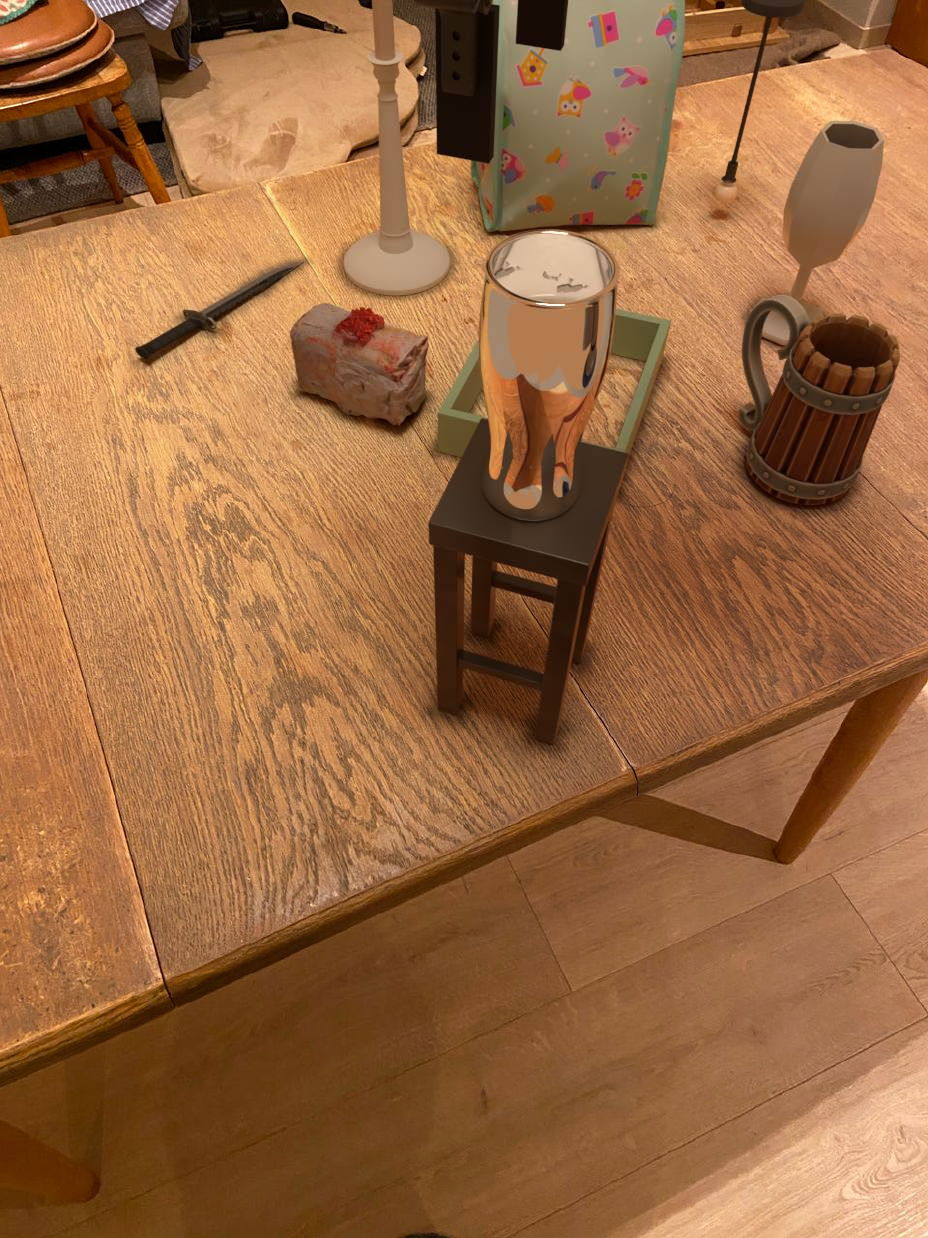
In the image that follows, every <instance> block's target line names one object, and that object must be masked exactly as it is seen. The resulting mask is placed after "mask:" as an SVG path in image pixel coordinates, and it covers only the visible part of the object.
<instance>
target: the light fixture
mask: <svg viewBox="0 0 928 1238" xmlns="http://www.w3.org/2000/svg"><path fill="white" fill-rule="evenodd" d="M807 1H808V0H740V4H741V7H742V8H744V10H746V11H748V12H750V13H752V14H753V15H757V16H761V17H765V21H764V25H763V27H764V29H763V32H762V35H761V36H762V37H761V40H760V43H759V48H758V53H757V56H756V60H755V64H754V69H753V71H752V77H751V81H750V85H749V88H748V93H747V97H746V101H745V105H744V110H743V113H742V116H741V117H742V118H741V122H740V126H739V129H738V132H737V133H738V134H737V137H736V141H735V145H734V150H733V153H732V155H731V160H729V161H727V166H726V169H725V172H724V173H725V174H724V175H723V176H722V177H721V181H722V182H720V183H719V184H718V185H717V186H716V188H715V191H714V197H715V199H716V201H717V202H718V203H720V204H723V205H728V204H730V203H732V202H733V201H734V200H735V199H736V198H737V195H738V188H737V185H736V184H735V183H736V182H737V178H736V175H737V171H738V169H739V168H738V167H739V162H738V156H739V151H740V147H741V144H742V143H741V142H742V139H743V135H744V131H745V127H746V123H747V118H748V115H749V112H750V106H751V102H752V99H753V95H754V91H755V87H756V83H757V79H758V75H759V71H760V67H761V64H762V59H763V55H764V51H765V47H766V43H767V40H768V39H767V38H768V35H769V31H770V28H771V26H772V23H773V18H774V19H785V18H792V17H796V16H798V15H801V14H802V13H803V12H804V10H805V8H806V4H807Z"/></svg>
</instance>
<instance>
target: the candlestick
mask: <svg viewBox="0 0 928 1238" xmlns="http://www.w3.org/2000/svg"><path fill="white" fill-rule="evenodd" d="M371 7H372V9H371V10H372V23H373V24H372V25H373V26H372V27H373V39H374V51H371V52H369V54H367V60H368V61H369V63H371V64H372V65H373V66H372V67H373V71H372V74H373V77H374V78H375V79H376V80H377V85H378V87H379V91H378V93H377V96H376V98H377V104H378V105H377V107H378V108H377V111H378V112H377V113H378V159H379V161H378V163H379V164H378V165H379V169H378V170H379V221H380V223H379V230H377V231H374V232H371V233H369V234H366V235H364V236H362V237H361V238H359V239H357V240H356V241H355V242H354V243H353V244H351V246H349V248H348V249H347V250H346V252H345V253H344V257H343V269H344V274H345V275H346V277H347V279H349V281H350V282H351V283H353V284H354V285H355V286H356V287H358V288H360V289H362V290H364V291H366V292H370V293H373V294H376V295H377V294H378V295H383V296H407V295H414V294H418V293H420V292H424V291H428V290H429V289H432V288H433V287H435V286H437V285H438V284H440V283H441V282H442V281H443V280H444V279H445V278H446V277H447V276H448V274H449V272H450V269H451V257H450V254H449V251H448V249H447V248H446V247H445V245H443V243H442V242H440V241H439V240H438V239H436V238H435V237H433V236H431V235H429V234H427V233H425V232H421V231H419V230H414V229H411V225H410V215H409V207H408V196H407V186H406V185H407V184H406V175H405V174H406V173H405V164H404V163H405V162H404V154H403V145H402V134H401V133H402V132H401V123H400V114H399V113H400V112H399V102H398V99H399V98H398V97H399V94H398V93H397V92H396V83H397V80H396V79H398V78H399V76H400V68H399V64H400V62H402V61H403V59H404V54H403V53H402V52H400V51H399V50H396V43H395V26H394V25H395V24H394V23H395V22H394V5H393V0H371Z"/></svg>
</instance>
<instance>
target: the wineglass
mask: <svg viewBox="0 0 928 1238" xmlns="http://www.w3.org/2000/svg"><path fill="white" fill-rule="evenodd" d="M884 146H885V139H884V137H883V135H882V134H881V132H880V130H879V129H878V128H877V127H875V126H871V125H868V124H865V123H862V122H860V121H856V120H830V121H829V122H828V123H826V125H824V126H823V127H822V128H821V129H820V131H819V132H818V133H817V135H816V137H815V138H814V140H813V142H812V143H811V145H810V146H809V148H808V149H807V151H806V153H805V154H804V157H803V160H802V161H801V163H800V165H799V168H798V170H797V172H796V175H795V176H794V179H793V181H792V183H791V185H790V189H789V192H788V195H787V198H786V200H785V204H784V207H783V213H782V214H783V217H782V234H781V237H782V240H783V242H784V245H785V247H786V250H787V252H788V253H789V255H791V257H792V258H793V259H794V260H795V261H796V262H797V263H798V265H799V267H798V270H797V274H796V276H795V279H794V282H793V285H792V288H791V290H790V294H789V296H790V297H792V298H794V299H795V300H797V301H798V302H799V303H800V304H801V305H802V307H803V308H804V310H805V311H806V313H807V316H808V318H809V323H811V322H812V321H813V320H814V319H816V318H818V317H820V316H821V317H825V316H824V313H823V310H822V308H821V307H820V306H817V305H815V304H812V303H809V302H807V301H804V300H803V298H804V295H805V292H806V289H807V286H808V283H809V280H810V278H811V275H812V272H813V269H815V268H818V267H821V266H824V265H827V264H830V263H833V262H836V261H838V260H839V259H840V258H841V257H842V256H843V255H844V254H845V253H846V252H847V251H848V250H849V248H850V246H851V245H852V243H854V240H855V239H856V237H857V236H858V235H859V234H860V233H861V230H862V229H863V227H864V226H865V225H866V222H867V219H868V216H869V214H870V211H871V209H872V206H873V203H874V200H875V198H876V193H877V190H878V185H879V180H880V175H881V172H882V166H883V161H884V148H885V147H884ZM771 297H772V296H763V297H762V298H761V299H760V300H759V301H758V302H757V303H756V304H755V305H754V307H755V306H756V305H758V304H759V303H760V302H763V301H765V300H767V299H769V298H771ZM752 310H753V308H751V310H750V311H749V312H748V315H749V314H750V313H751V311H752ZM789 336H790V330H789V326H788V323H787V321H786V320H785V318H784V317H783V316H782V315H780V314H779V313H777V312H775V311H771V312H770V313H769V315H768V316H767V318H766V320H765V323H764V327H763V332H762V338H764V339H767V340H769V341H771V342H773V343H777V344H778V345H781V346H786V345H787V343H788V341H789Z"/></svg>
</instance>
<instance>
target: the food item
mask: <svg viewBox="0 0 928 1238" xmlns="http://www.w3.org/2000/svg"><path fill="white" fill-rule="evenodd" d="M289 338H290V340H291V350H292V355H293V361H294V366H295V372H296V378H297V385H298V386H297V387H298V389H299V391H300V392H306V393H308V394H313V395H318V396H319V397H320V398H323V399H326V400H329V401H332V402H333V403H336V405H337V406H338V407H339V409H340V410H341V412H342V413H344V414H345V415H347V416H350V415H351V416H355V417H359V416H362V415H363V416H364V417H366V418H369V419H383V420H386V421H387V422H389V423H390V424H391V425H392V426H396V425H398V426H400V425H401V424H402V423H404V421H405V419H406V418H407V416H411V415H412V414H413V413H417V411H418V410H419V409H420V406H421V405H422V403H423V402H424V401H425V400H426V398H427V396H426V395H427V393H426V392H427V390H426V381H427V379H426V378H427V377H426V375H427V374H426V366H427V355H428V350H429V346H430V345H429V336H428V335H421V334H420V335H419V334H416V332H412V331H411V330H408V329H404V328H401V327H398V326H394V325H391V324H388V323H386V322H385V316H382V315H380V314H378V313H375V312H374V311H373V309H372V308H371V307H367V308H366V306H364V307H363V306H359V308H358V307H356V308H355V309H354V308H352V309H351V311H350V310H347V309H345V308H342V307H340V306H338V305H337V306H336V305H334V304H332V303H331V302H330V303H329V302H322V303H319V304H316V305H314V306H312V307H311V308H310V309H309V310H307V312H305V313H303V315H302V316H301V317H299V319H297V320H296V321H295V322H294V324H293V325H292V326H291V329H290V331H289Z"/></svg>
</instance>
